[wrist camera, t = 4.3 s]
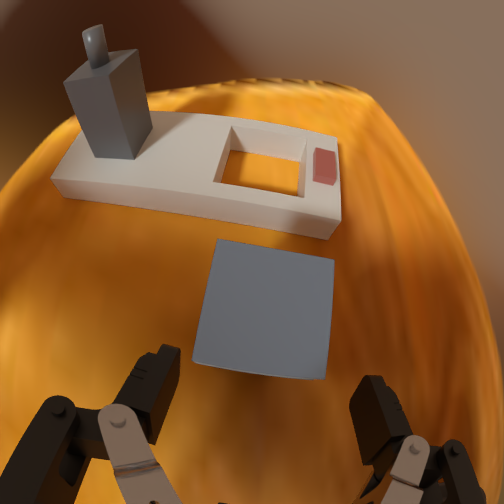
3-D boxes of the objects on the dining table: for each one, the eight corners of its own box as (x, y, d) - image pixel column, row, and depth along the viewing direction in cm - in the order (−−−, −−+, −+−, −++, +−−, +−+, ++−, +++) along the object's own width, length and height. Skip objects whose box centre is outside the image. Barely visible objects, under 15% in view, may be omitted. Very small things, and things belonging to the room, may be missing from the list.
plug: (210, 365, 16) (189, 362, 7) (222, 305, 18) (216, 237, 9) (273, 375, 16) (326, 381, 7) (281, 316, 18) (335, 258, 9)
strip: (63, 197, 21) (-6, 82, 8) (103, 132, 24) (69, 23, 12) (327, 240, 21) (421, 92, 8) (327, 159, 25) (378, 32, 12)
